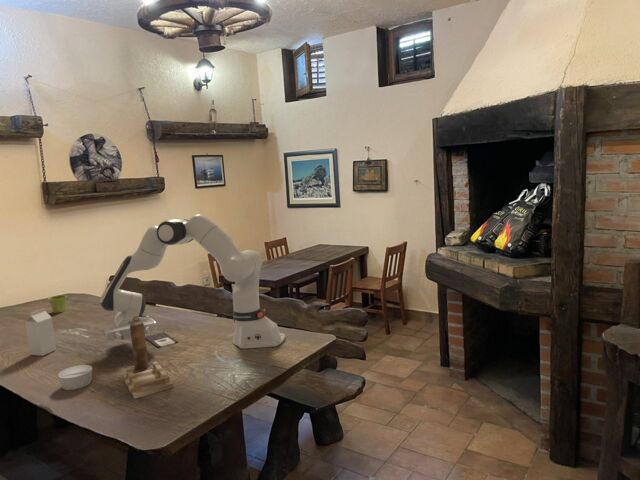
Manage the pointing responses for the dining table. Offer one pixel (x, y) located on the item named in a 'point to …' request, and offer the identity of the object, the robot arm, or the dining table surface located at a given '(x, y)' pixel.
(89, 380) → the ramekin
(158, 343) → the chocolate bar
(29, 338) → the milk carton
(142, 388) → the rack
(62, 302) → the plant pot
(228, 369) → the dining table surface
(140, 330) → the pepper mill
